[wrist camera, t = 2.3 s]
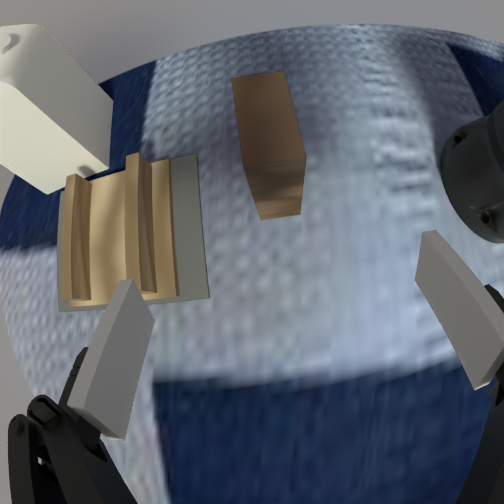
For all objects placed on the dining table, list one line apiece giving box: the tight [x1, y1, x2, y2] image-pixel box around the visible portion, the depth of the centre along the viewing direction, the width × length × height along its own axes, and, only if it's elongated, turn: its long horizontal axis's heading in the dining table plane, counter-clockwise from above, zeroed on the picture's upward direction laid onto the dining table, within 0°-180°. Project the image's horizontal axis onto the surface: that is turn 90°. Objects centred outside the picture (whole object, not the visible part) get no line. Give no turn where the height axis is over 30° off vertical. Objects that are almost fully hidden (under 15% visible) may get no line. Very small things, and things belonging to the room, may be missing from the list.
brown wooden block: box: [231, 71, 306, 220], centre depth 25 cm, size 4×8×12 cm, turn 8°
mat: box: [57, 153, 210, 312], centre depth 31 cm, size 20×16×1 cm
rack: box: [61, 152, 180, 307], centre depth 29 cm, size 14×15×4 cm
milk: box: [0, 24, 113, 194], centre depth 23 cm, size 12×12×26 cm
